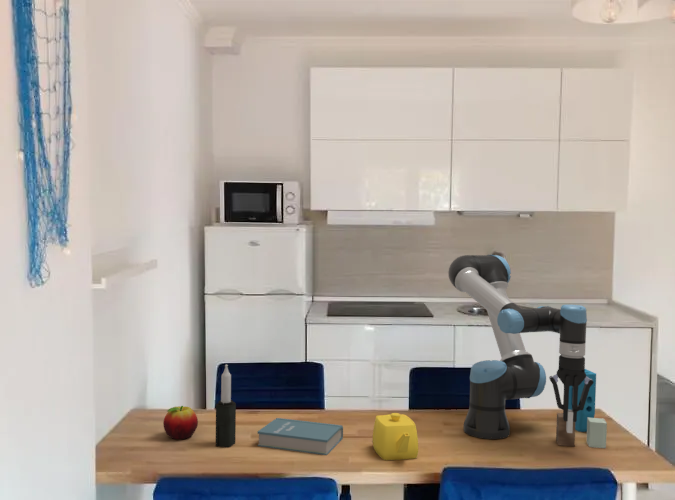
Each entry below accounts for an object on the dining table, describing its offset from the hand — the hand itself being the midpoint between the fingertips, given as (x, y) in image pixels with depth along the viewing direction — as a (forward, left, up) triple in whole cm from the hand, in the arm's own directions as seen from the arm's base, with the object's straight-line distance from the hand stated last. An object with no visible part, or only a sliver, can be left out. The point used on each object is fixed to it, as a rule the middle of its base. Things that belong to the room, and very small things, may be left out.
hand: (569, 431), depth 200 cm
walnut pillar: (0, +8, -6) cm, 10 cm away
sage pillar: (+10, +9, -6) cm, 15 cm away
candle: (-104, -20, -7) cm, 106 cm away
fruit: (-121, -17, -7) cm, 122 cm away
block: (+7, +26, -7) cm, 28 cm away
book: (-82, -12, -7) cm, 83 cm away
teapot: (-52, -15, -7) cm, 54 cm away
